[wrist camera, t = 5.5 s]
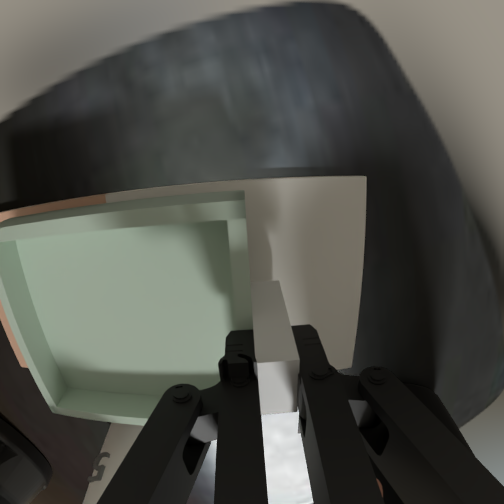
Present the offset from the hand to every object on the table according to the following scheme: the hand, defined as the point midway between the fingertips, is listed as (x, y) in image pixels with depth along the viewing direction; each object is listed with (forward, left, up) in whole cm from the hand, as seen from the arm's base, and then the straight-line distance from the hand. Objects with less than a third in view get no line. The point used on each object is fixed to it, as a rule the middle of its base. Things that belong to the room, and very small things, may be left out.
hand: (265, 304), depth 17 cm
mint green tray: (-7, 0, -2) cm, 8 cm away
